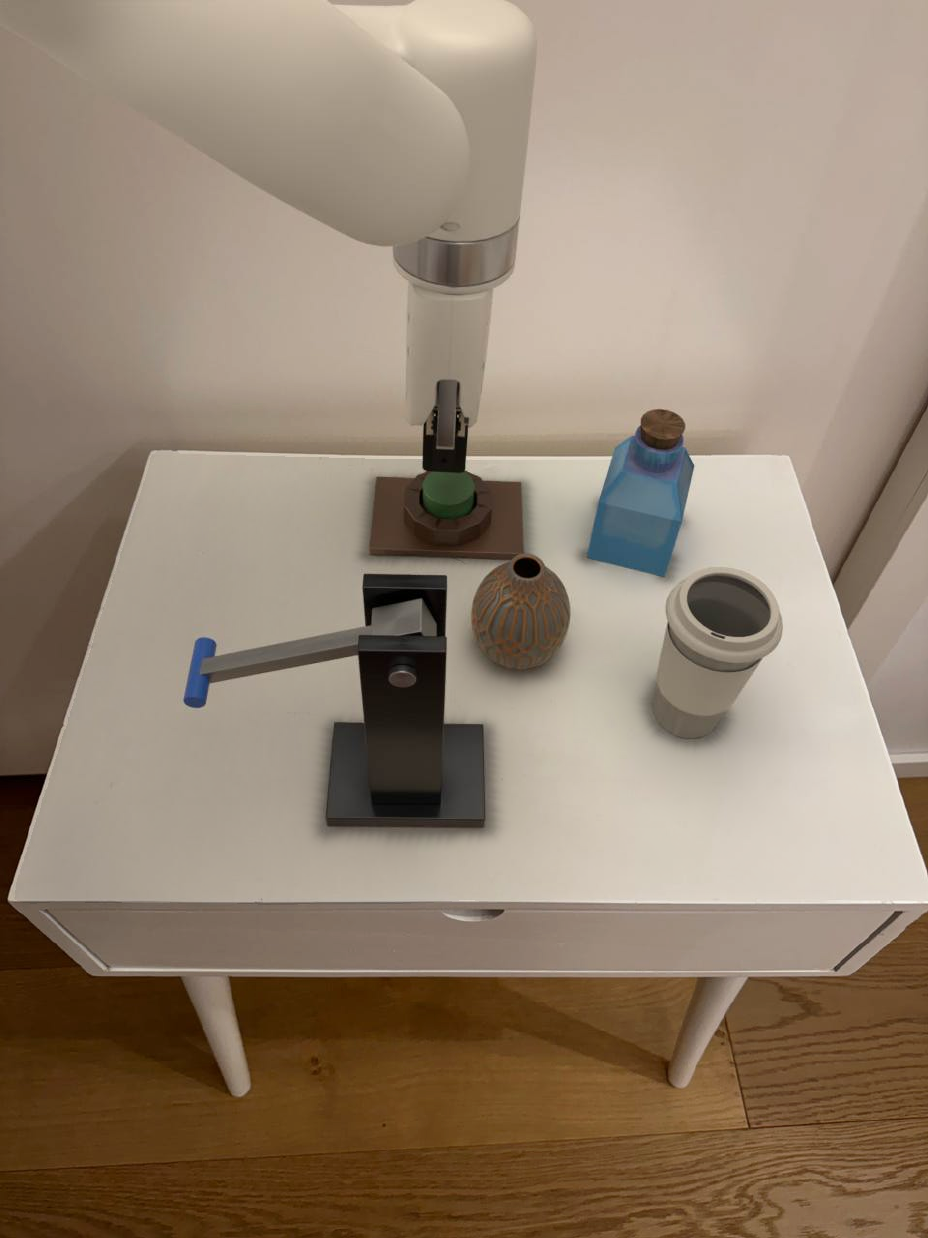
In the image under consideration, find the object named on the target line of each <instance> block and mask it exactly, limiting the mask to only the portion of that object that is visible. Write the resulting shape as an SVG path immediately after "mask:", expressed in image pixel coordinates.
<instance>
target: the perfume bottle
mask: <svg viewBox="0 0 928 1238" xmlns="http://www.w3.org/2000/svg"><path fill="white" fill-rule="evenodd" d="M685 430H686V422H685V421H684V418H682V417H681V416H680V415H679V414H678V413H676V412H675V411H671V410H669V409H663V408H656V409H651V410H648V411H646V412H645V413H643V414H642V415H641V418H640V425H639V426H638V427H637V428H636V430H635V433H634V435H630V436H629V437H628V438H626V439H625V440H623V441H622V442H621V443H619V444H618V445H616V446H615V447H614V449H613V452H612V456H611V459H610V463H609V466H608V469H607V473H606V476H605V479H604V482H603V485H602V489H601V492H600V496H599V499H598V502H597V506H596V511H595V517H594V521H593V525H592V530H591V535H590V540H589V545H588V549H587V553H586V559H590V560H595V561H598V562H602V563H605V564H611V565H615V566H619V567H623V568H627V569H630V570H635V571H638V572H643V573H647V574H651V575H655V576H658V577H663V578H665V577H666V574H667V570H668V567H669V565H670V561H671V558H672V555H673V551H674V548H675V545H676V542H677V539H678V535H679V532H680V530H681V526H682V524H683V520H684V519H683V518H684V515H685V510H686V505H687V501H688V496H689V492H690V488H691V483H692V479H693V474H694V469H695V464H694V462H693V459H692V458H691V456H690V454H689V452H688V450H687V449H686V447H685V446H684V438H685V437H684V433H685Z"/></svg>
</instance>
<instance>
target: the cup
mask: <svg viewBox="0 0 928 1238" xmlns="http://www.w3.org/2000/svg"><path fill="white" fill-rule="evenodd" d="M777 600H778V599H777V598H776V596H775V595H774V593H773V592H772V590H771V589H770V588H769V587H768V586H767V585H766V584H765V583H764V582H763V581H761V580H760V579H759V578H757V577H756V576H754V575H752V574H750V573H748V572H745V571H743V570H741V569H738V568H734V567H727V566H711V567H706V568H705V567H704V568H702V569H699V570H697V571H695V572H693V573H692V574H690V575H689V576H687V577H685V578H684V579H682V580H680V581H679V582H677V584H676V585H675V586H674V587H673V588H672V589H671V591H670V592H669V594H668V596H667V598H666V601H665V616H666V621H667V623H666V627H665V632H664V637H663V642H662V647H661V651H660V656H659V661H658V665H657V670H656V684H655V685H656V687H655V691H654V695H653V700H652V712H653V715H654V717H655V720H656V721H657V723H658V724H659V725H660V727H662V728H663V729H664V730H665V731H667V732H668V733H669V734H672V735H674V736H676V737H680V738H682V739H699V738H702V737H703V738H704V737H705V736H707V735H709V734H710V733H712V732H713V731H714V729H715V728H716V727H717V725H718V724H719V722H720V721H721V719H722V718H723V716H724V715H725V713H726V711H727V710H729V708H731V707H732V705H734V703H735V701H736V700H737V698H738V697H739V696H740V694H741V692H742V691H743V689H744V688H745V686H746V685H747V683H748V682H749V681H750V679H751V678H752V676H753V674H754V672H755V671H756V669H757V668H758V666H759V665H760V663H761V662H762V660H763V659H764V658H765V657H767V656H768V655H770V654H771V653H772V652H774V651H775V649H776V648H777V647H778V646H779V644H780V642H781V639H782V637H783V631H784V624H783V616H782V613H781V611H780V607H779V603H778V601H777Z"/></svg>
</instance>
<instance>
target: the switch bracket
mask: <svg viewBox="0 0 928 1238" xmlns="http://www.w3.org/2000/svg"><path fill="white" fill-rule="evenodd" d="M361 589H362V601H363V602H362V603H363V615H364V626H370V625H371V624H372V609H373V608H375V607H380V606H385V605H390V604H395V603H400V602H405V601H410V600H415V599H420V598H422V599H423V601H424V602H425V604H426V606H427V608H428V610H429V611H430V613H431V615H432V617H433V619H434V620H435V622H436V624H437V635H436V636H395V635H359V638H358V655H357V660H358V661H357V662H358V671H359V681H360V682H359V683H360V693H361V703H362V714H363V715H362V716H363V717H362V718H363V722H355V721H354V722H352V721H351V722H350V721H335V722H334V723H333V730H332V740H331V751H330V762H329V763H330V765H329V775H328V783H327V784H328V785H327V787H328V788H327V799H326V809H325V823H326V826H327V827H389V828H391V827H393V828H394V827H398V828H401V827H402V828H406V827H407V828H485V826H486V777H485V776H486V775H485V736H484V735H485V734H484V733H485V732H484V731H485V730H484V723H445V707H446V684H447V683H446V681H447V657H448V649H447V648H448V638H447V636H446V630H447V606H448V605H447V602H448V575H447V574H413V573H412V574H409V573H408V574H407V573H406V574H404V573H363V575H362V587H361Z"/></svg>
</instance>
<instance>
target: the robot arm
mask: <svg viewBox="0 0 928 1238" xmlns="http://www.w3.org/2000/svg"><path fill="white" fill-rule="evenodd" d="M0 27H2V28H4V29H5V30H7V31H9V32H10V33H12V34H13V35H16V36H17V37H19V38H21V39H22V40H23V41H26V42H27V43H30V45H32V46H34V47H36V48H38V49H39V50H40V51H42V52H44V53H45V54H47V55H48V56H49V57H50V58H52V59H53V60H55V61H56V62H58V63H59V64H61V65H62V66H63V67H65V68H66V69H67V70H69V71H70V72H72V73H73V74H74V75H77V76H78V77H79V78H81V79H82V80H84V81H85V82H87V83H89V84H90V85H92V86H93V87H95V88H97V89H98V90H99V91H101V92H102V93H104V94H106V95H108V96H110V97H112V98H113V99H115V100H116V101H118V102H120V103H121V104H122V105H123V104H124V105H125V106H127V107H128V108H130V109H132V110H134V111H136V112H137V113H139V114H141V115H142V116H144V117H146V118H147V119H149V120H150V121H152V122H153V123H155V124H156V125H159V126H160V127H162V128H164V129H165V130H167V131H168V132H170V133H172V135H175V136H177V137H178V138H180V139H181V140H183V141H184V142H185V143H186V144H189V145H190V146H192V147H193V148H194V149H196V150H197V151H200V153H202V154H204V155H206V156H207V157H209V158H210V159H212V160H213V161H215V162H217V163H218V164H220V165H221V166H223V167H225V168H226V169H227V170H229V171H230V172H232V173H233V174H236V175H237V176H238V177H240V178H242V180H245V181H247V182H248V183H250V184H252V185H253V186H255V187H257V188H258V189H259V190H262V191H263V192H265V193H267V194H269V195H270V196H272V197H274V198H275V199H277V200H279V201H281V202H282V203H285V204H286V205H288V206H290V207H292V208H293V209H296V210H297V211H299V212H302V213H303V214H305V215H307V216H309V217H311V218H313V219H315V220H316V221H318V222H320V223H321V224H323V225H325V226H327V227H329V228H331V229H333V230H335V231H337V232H339V233H341V234H343V236H344V235H345V236H346V237H349V238H351V239H353V240H355V241H357V242H360V243H363V244H366V245H370V246H377V247H384V248H385V247H392V264H393V266H394V268H395V269H396V271H397V273H398V274H399V275H400V276H401V277H402V278H403V279H404V280H406V281H407V282H408V283H407V298H406V330H405V331H406V334H405V397H404V398H405V399H404V406H405V407H404V419H405V421H406V423H407V424H408V425H409V426H413V427H414V426H421V427H423V428H422V461H421V463H422V465H421V468H422V470H423V471H424V472H427V471H431V472H451V473H462V472H464V471H465V470H466V464H467V451H468V440H469V439H468V438H469V437H468V436H469V429H470V428H472V427H474V425H476V423H477V422H478V418H479V417H478V416H479V411H480V406H481V405H480V403H481V397H482V393H483V385H484V377H485V371H486V363H487V355H488V347H489V339H490V338H489V336H490V328H491V319H492V309H493V296H494V289H495V288H497V287H500V286H501V285H503V284H504V283H505V282H506V281H508V280H509V278H511V276H512V275H513V273H514V270H515V266H516V259H517V249H518V240H519V239H518V238H519V232H520V231H519V230H520V222H521V209H522V199H523V190H524V183H525V182H524V181H525V172H526V163H527V155H528V153H527V152H528V145H529V144H528V143H529V134H530V126H531V125H530V124H531V116H532V115H531V114H532V106H533V96H534V87H535V79H536V78H535V77H536V68H537V53H538V43H537V36H536V32H535V28H534V27H535V26H534V25H533V23H532V21H531V20H530V18H529V16H528V15H527V14H526V13H525V12H524V11H523V10H522V9H521V8H520V7H518V6H517V5H515V4H514V3H512V2H510V1H509V0H413V1H411V2H410V3H408V4H399V5H398V4H397V5H396V4H395V5H361V4H360V5H359V4H358V5H357V4H335V3H331V2H330V1H329V0H0Z"/></svg>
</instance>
